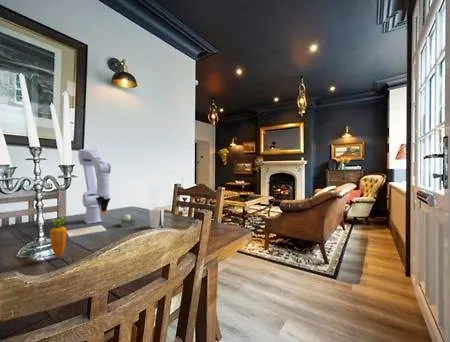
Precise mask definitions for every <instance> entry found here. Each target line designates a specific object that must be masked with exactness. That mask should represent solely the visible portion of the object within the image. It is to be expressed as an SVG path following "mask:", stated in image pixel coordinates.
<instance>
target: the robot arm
mask: <svg viewBox="0 0 450 342" xmlns="http://www.w3.org/2000/svg"><path fill="white" fill-rule="evenodd" d="M77 155H78V162H79V164H80V165H82V168H83V171H84V178H85V184H86V191H85V192H84V193H83V194H82V205H83V207H85V209H86V210H85V219H84V220H83V221H84V222H85V223H86V224H87V225H88V224H89V225H90V224H95V223H101V222H103V220H102V219H101V215H100V205H101V210H102V212H103V211H106V210H108V205H109V203H110V201H111V198H110V183H109V181H110V179H109V177H110V176H109V175H110V173H111V168H112V167H111V164H110V163H108V162H107V163H106V162H105V161H104V160H103V158H101V157H99V156H100V152H99V151H98V149H85V148H83V149H82V148H80V149H79V150H78V153H77ZM94 173H95V174H94ZM95 178H96V180H95Z"/></svg>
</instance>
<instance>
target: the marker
mask: <svg viewBox="0 0 450 342" xmlns="http://www.w3.org/2000/svg"><path fill="white" fill-rule="evenodd" d="M107 210H108V209H107ZM107 210H106V211H103V212H102V210H101V205H100V216H105V215H107Z"/></svg>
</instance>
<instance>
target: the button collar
mask: <svg viewBox="0 0 450 342" xmlns="http://www.w3.org/2000/svg"><path fill="white" fill-rule="evenodd" d="M135 221H136V220H135V219H134V218H132V217H131V220H129V221H122V218H120V219H119V218H118V219H117V222H118V223H117V226H119V227H121V228H126V227H132V226H135Z"/></svg>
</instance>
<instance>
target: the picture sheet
mask: <svg viewBox="0 0 450 342" xmlns="http://www.w3.org/2000/svg"><path fill="white" fill-rule="evenodd" d="M66 230H67V237H68V238H72V237H78V236H83V235H90V234H95V233H101V232H106V231H107V229H106V228H105V227H104V226H103V225H101V224H100V225H92V226H89V227H81V228H74V229H66Z"/></svg>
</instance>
